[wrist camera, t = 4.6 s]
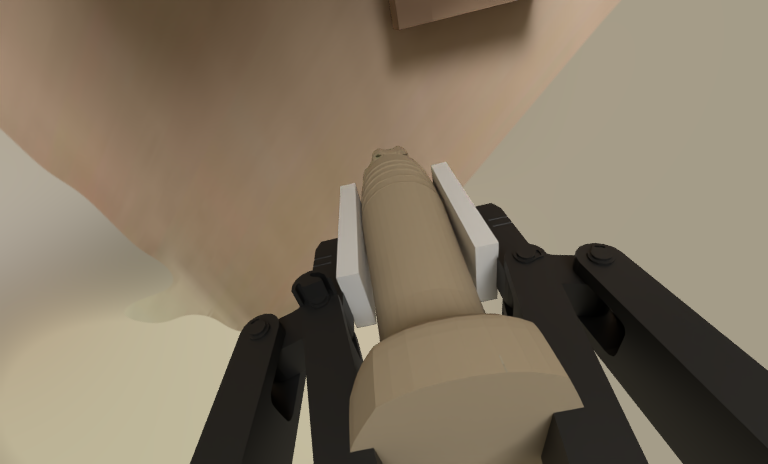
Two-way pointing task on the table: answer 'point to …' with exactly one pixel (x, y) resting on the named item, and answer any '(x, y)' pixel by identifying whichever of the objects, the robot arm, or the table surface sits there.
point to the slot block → (433, 10)
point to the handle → (443, 342)
